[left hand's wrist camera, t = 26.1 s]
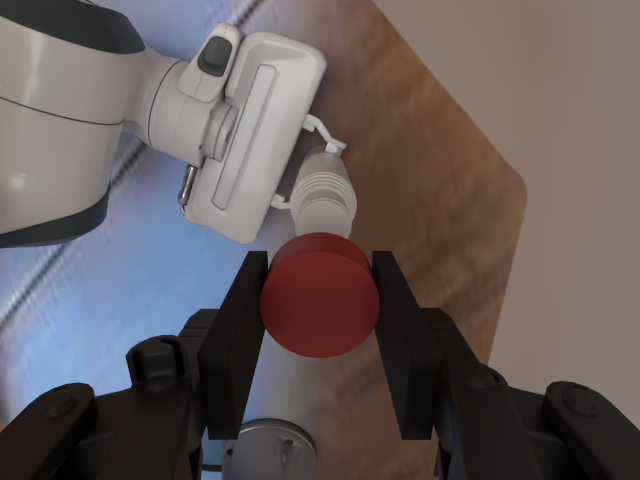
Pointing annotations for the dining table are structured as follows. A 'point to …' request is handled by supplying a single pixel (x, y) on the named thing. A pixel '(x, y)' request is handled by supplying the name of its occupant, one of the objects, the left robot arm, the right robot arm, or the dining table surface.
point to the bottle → (323, 195)
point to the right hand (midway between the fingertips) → (330, 178)
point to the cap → (319, 296)
